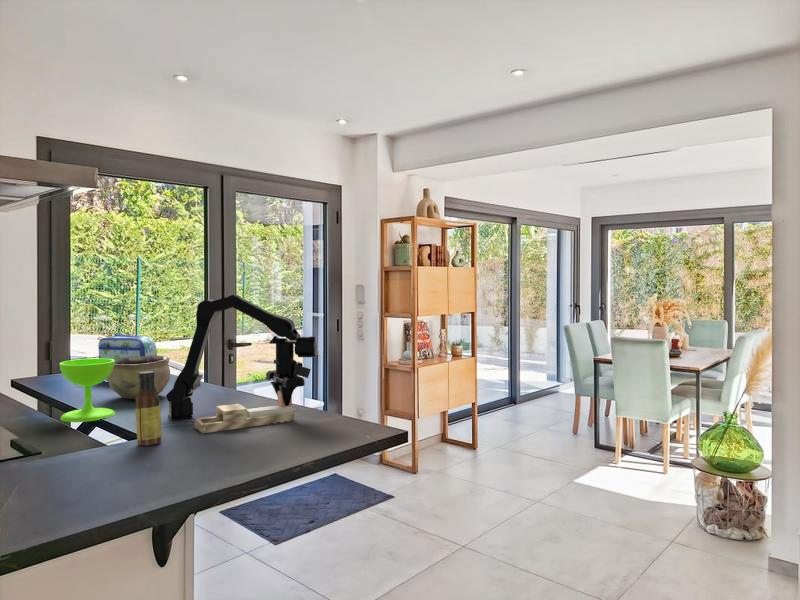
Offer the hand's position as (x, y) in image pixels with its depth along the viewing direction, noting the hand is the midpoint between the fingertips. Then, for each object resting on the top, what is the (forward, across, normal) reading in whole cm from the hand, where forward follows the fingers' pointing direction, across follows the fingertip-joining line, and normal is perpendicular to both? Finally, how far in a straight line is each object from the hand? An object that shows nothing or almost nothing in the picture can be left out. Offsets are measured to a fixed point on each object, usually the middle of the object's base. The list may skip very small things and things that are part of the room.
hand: (284, 404), depth 187 cm
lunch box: (+5, +97, +33) cm, 103 cm away
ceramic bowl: (+5, +59, +34) cm, 68 cm away
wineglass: (+5, +37, +53) cm, 65 cm away
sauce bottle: (+5, -7, +42) cm, 43 cm away
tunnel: (+5, 0, +12) cm, 13 cm away
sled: (+3, 0, +5) cm, 6 cm away
